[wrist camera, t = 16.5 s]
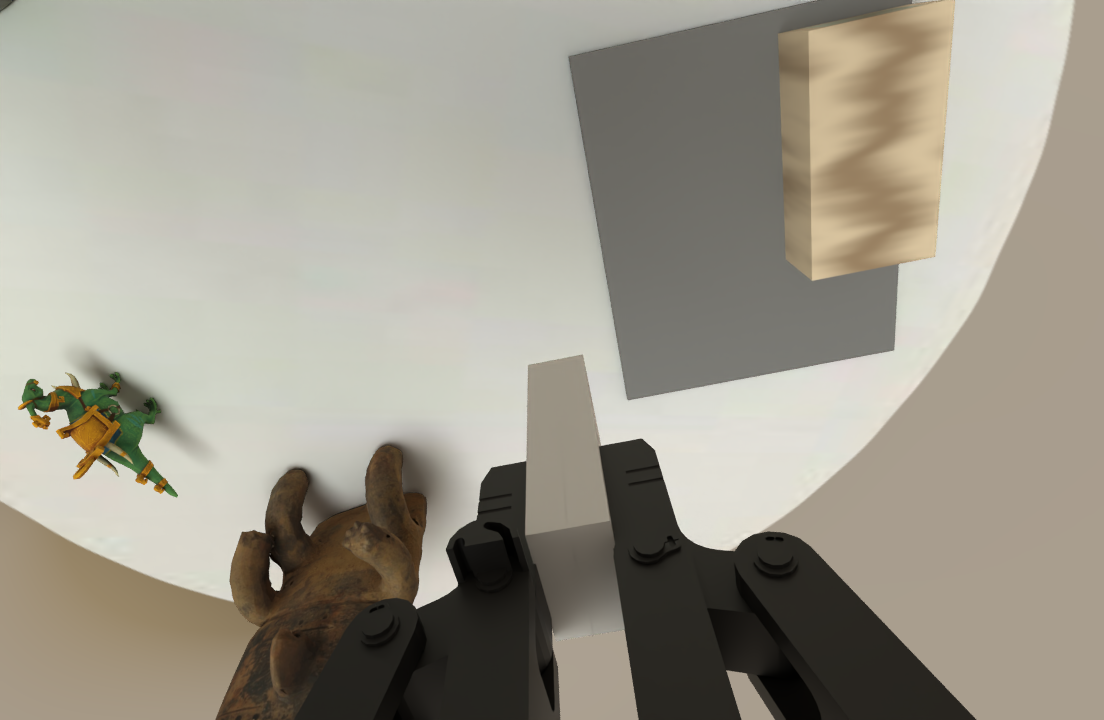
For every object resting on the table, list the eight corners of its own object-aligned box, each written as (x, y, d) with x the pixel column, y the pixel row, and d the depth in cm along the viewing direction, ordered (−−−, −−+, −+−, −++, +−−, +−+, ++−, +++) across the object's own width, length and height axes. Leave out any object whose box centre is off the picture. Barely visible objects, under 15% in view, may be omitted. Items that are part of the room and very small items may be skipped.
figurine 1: (85, 339, 44) (-4, 396, 37) (221, 448, 49) (165, 518, 41) (60, 363, 45) (-32, 423, 38) (195, 468, 49) (137, 540, 42)
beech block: (812, 280, 38) (808, 31, 32) (785, 259, 42) (778, 33, 36) (935, 256, 38) (955, -2, 32) (896, 237, 42) (907, 4, 36)
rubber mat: (568, 56, 37) (569, 56, 37) (909, -21, 36) (913, -22, 35) (627, 397, 48) (627, 400, 47) (891, 347, 46) (894, 350, 46)
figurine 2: (405, 422, 48) (335, 667, 30) (450, 490, 51) (410, 744, 34) (257, 475, 50) (113, 733, 32) (311, 538, 53) (207, 799, 36)
